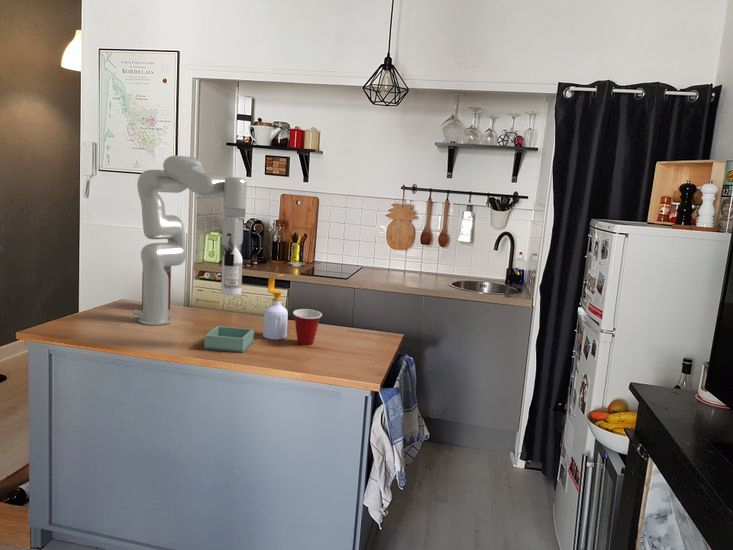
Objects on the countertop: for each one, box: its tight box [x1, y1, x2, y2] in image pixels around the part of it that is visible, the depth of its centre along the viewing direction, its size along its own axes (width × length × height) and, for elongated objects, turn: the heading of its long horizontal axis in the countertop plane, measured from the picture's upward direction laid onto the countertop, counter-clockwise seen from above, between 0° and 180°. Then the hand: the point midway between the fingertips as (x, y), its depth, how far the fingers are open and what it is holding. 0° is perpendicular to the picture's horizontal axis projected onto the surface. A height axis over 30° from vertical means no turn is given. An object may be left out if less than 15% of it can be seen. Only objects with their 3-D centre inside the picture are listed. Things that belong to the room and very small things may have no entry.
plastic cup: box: [292, 308, 323, 346], centre depth 217 cm, size 11×11×12 cm
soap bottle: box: [262, 273, 289, 341], centre depth 222 cm, size 9×9×25 cm
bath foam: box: [220, 246, 243, 297], centre depth 204 cm, size 7×7×20 cm
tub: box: [203, 325, 255, 354], centre depth 208 cm, size 14×14×5 cm
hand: (232, 263), depth 203 cm, fingers closed on bath foam, 7 cm apart
